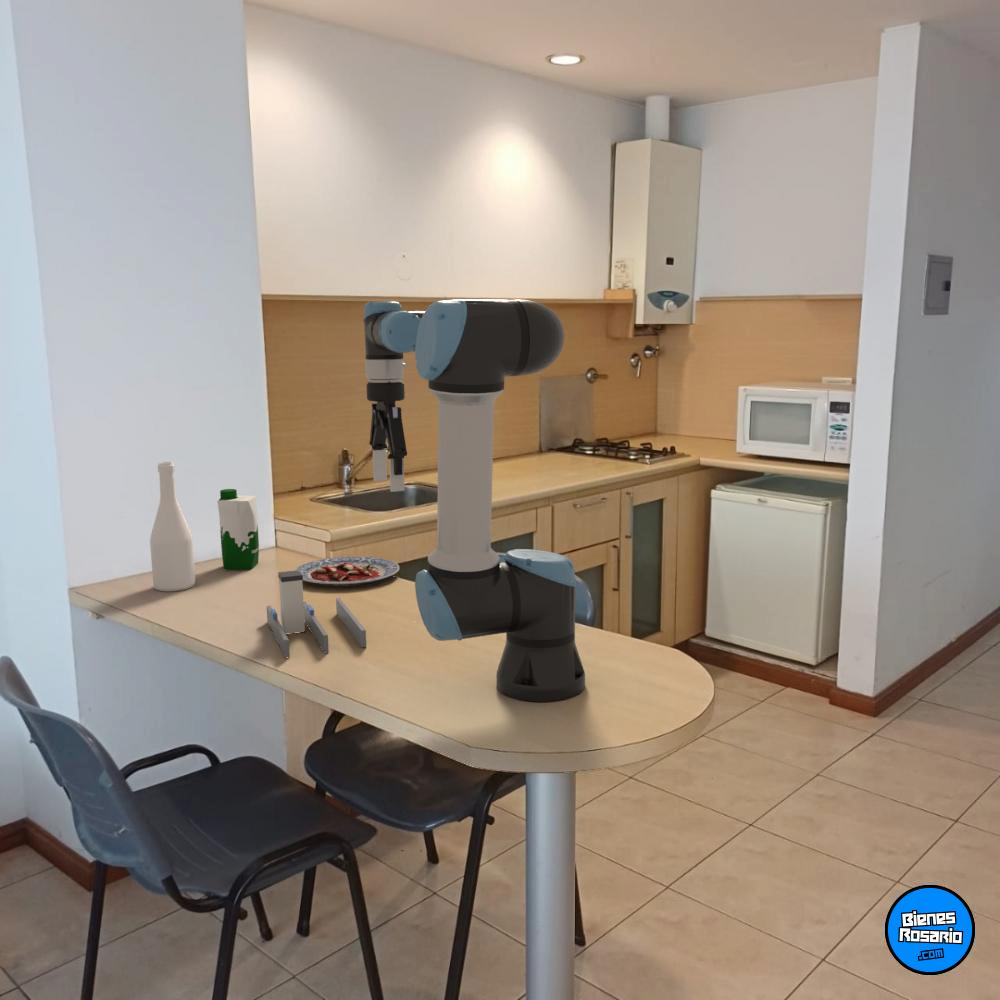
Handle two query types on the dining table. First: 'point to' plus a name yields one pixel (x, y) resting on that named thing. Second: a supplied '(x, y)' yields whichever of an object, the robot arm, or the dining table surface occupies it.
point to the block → (291, 601)
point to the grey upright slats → (317, 626)
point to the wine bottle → (171, 539)
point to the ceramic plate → (347, 570)
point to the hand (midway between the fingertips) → (388, 486)
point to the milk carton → (238, 530)
